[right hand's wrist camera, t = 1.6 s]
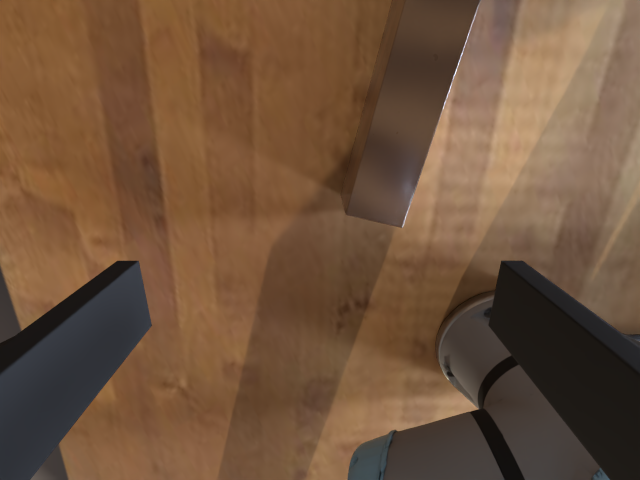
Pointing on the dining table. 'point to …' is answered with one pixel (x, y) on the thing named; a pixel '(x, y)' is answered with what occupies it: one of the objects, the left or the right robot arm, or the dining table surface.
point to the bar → (404, 105)
